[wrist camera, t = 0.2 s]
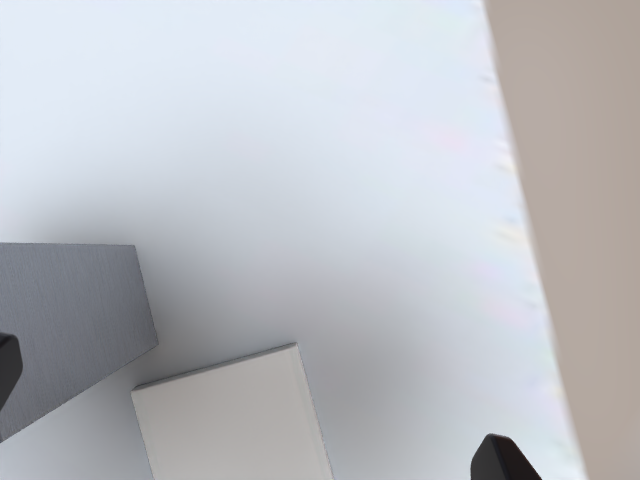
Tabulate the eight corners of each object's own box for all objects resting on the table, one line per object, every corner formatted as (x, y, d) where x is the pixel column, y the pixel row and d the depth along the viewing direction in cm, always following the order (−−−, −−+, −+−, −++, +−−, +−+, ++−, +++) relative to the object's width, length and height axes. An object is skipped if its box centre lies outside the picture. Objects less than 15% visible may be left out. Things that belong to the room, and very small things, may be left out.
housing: (158, 344, 24) (-26, 459, 11) (57, 369, 24) (-251, 516, 11) (134, 245, 24) (-78, 240, 11) (34, 269, 24) (-301, 295, 11)
